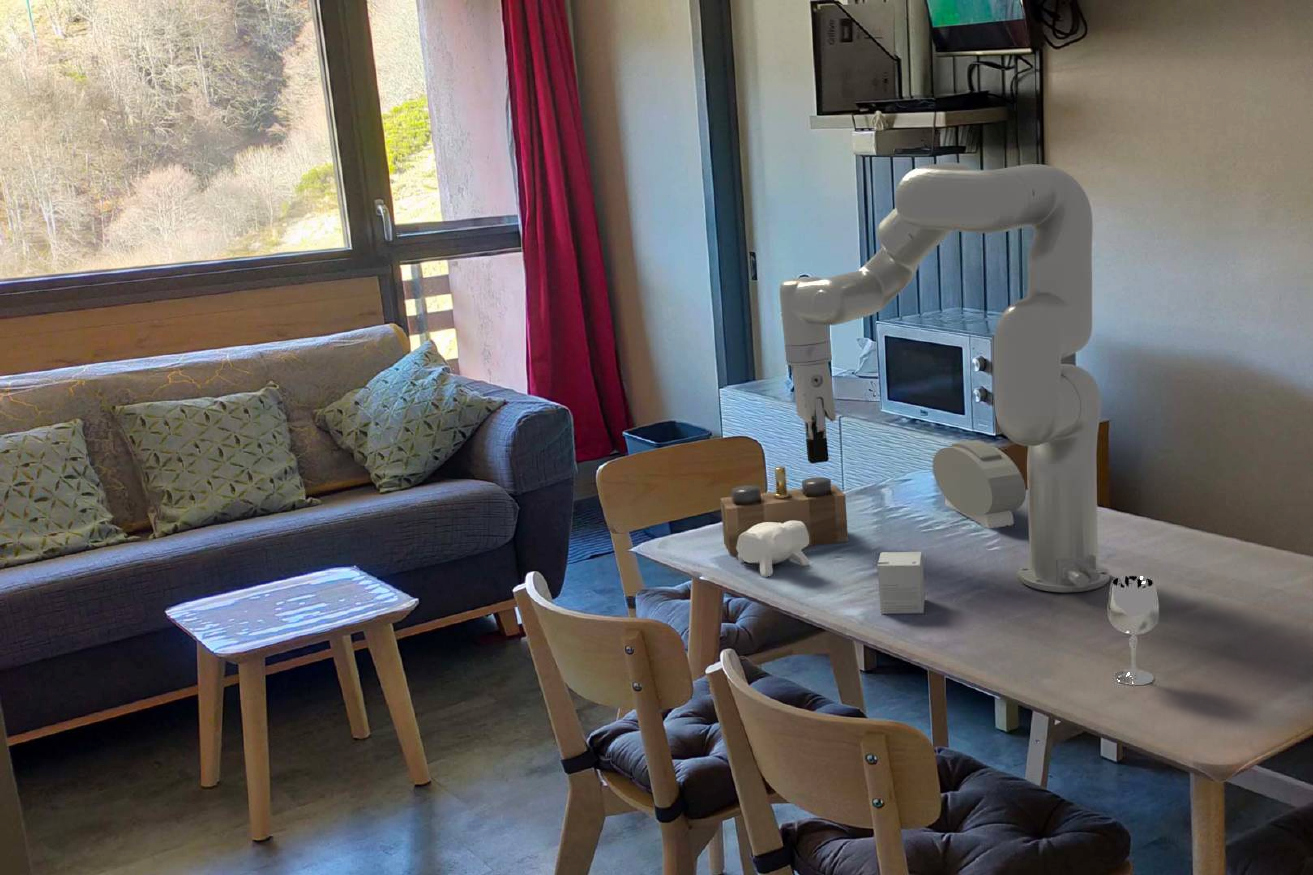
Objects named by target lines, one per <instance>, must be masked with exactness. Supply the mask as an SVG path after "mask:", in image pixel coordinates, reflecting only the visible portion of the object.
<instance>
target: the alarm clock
mask: <svg viewBox="0 0 1313 875" xmlns="http://www.w3.org/2000/svg"><path fill="white" fill-rule="evenodd" d="M932 472H933V476H934V479H935V482H936V485H937V486H938V488H939V490H940V492H941V493H942V495H943V496H944V499H945V500H944V505H945V506H947V507H949V508H951V509H952V510H954V511H956V512H958V513H959V514H961V515H963V516H964V517H966V518H968V519H970V520H972V521H974V522H975V523H977V522H978V523H977V524H979V523H980V524H979V525H981V526H983V527H984V528H986V527H987V529H988V530H989V528H990V529H995V528H994V527H996V528H1001V527H1002V528H1003V527H1007V526H1006V525H1008V526H1012V525H1011V524H1014V515H1013V511H1016V510H1017V509H1019V508H1021V507H1022V506H1023V505H1024V502H1025V500H1026V496H1027V490H1026V483H1025V480H1024V478H1023V475H1022V473H1021V472H1020V470H1019V468H1018V466H1017V465H1016V464H1015V462H1014V461H1013V460H1012V459H1011V458H1010V457H1009V455H1007V454H1005V452H1003V451H1002V450H1000V449H999V448H997V447H995V446H993V445H992V444H991V445H990V444H988V443H987V442H985V441H982V440H977V439H976V440H975V439H974V440H965V441H960V442H953V443H952V444H951V446H947V447H944V448H941V449H938V451H937V452H936V453H935V454H934V455H933V458H932Z"/></svg>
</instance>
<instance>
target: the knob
mask: <svg viewBox="0 0 1313 875" xmlns="http://www.w3.org/2000/svg"><path fill="white" fill-rule="evenodd" d="M831 485H832V481H831V479H830V478H827V477H818V476H817V477H811V478H810V477H809V478H805V479H803V480H802V481H801V486H802V488H801V489H802V490H803V495H805V496H807V497H817V496H825V495H828V494H830V493H831Z"/></svg>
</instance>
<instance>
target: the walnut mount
mask: <svg viewBox="0 0 1313 875" xmlns="http://www.w3.org/2000/svg"><path fill="white" fill-rule="evenodd" d="M787 491H789V492H791V497H790V498H786V499H775V498H773V493H774V492H775V491H771V492H763V493H762V492H761V501H760V502H758V503H754V504H748V505H737V504H734V503H733V502H732V496H728V497H727V496H726V497H721V498H720V501H719V502H720V508H721V509H720V510H721V512H720V513H721V524H722V535H723V544H724V545H725V547H726V550H727V551H728V554H729V556H734V555H738V554H739V553H738V551H737V550H736V547H737V542H738V537H739V536H740V534H742V533H743V532H746V531H747V530H749V529H750V528H751V527H753V526H755V525H757V524H760V523H763V522H775V523H782V524H783V523H785V522H787V521H801V522H803V523H804V525H805V526H806V528H807V531H808V535H809V544H808V545H807V546H806V547H810V546H818V545H827V544H836V543H842V542H843V543H845V542H849V532H848V518H847V517H848V516H847V515H848V514H847V501H846V494H845V493H844V492H843V491H842V490H841V489H840V488H839V487H838V486H837V485H836V484H831V493H830V494H828V495H825V496H817V497H807V496H805V495H803V490H802V488H798V489H789V490H788V489H787Z"/></svg>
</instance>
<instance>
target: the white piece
mask: <svg viewBox="0 0 1313 875" xmlns="http://www.w3.org/2000/svg"><path fill="white" fill-rule="evenodd" d="M808 544H809V535H808V531H807V528H806V526H805V525H804V523H803V522H801V521H787V522H785V523H783V524H782V523H775V522H763V523H760V524H757V525H755V526H753V527H751V528H750V529H749V530H747V531H746V532H743V533H742V534H740V536H739V537H738V542H737V547H736V550H737V551H738V553H739V554H737V559H738V561H739V563H740V564H743V563H745V562H747V563H750V564H759V572H760V575H761V576H762V577H763V576H764V577H763V578H768V576H769V577H771V576H772V575H773V572H774V570H773V565H775V564H778V563H781V562H784V561H786V560H787V559H788V558H789V559H790V560H793V561H795V562H796V563H797V564H798V566H801V565H803V566H802V567H806V566H809V564H810V561H809V559H808V557H807V556H806V555H805V554H804V552H803V551H802V550H803V549H804V548H806V547H808V546H807V545H808Z"/></svg>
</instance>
